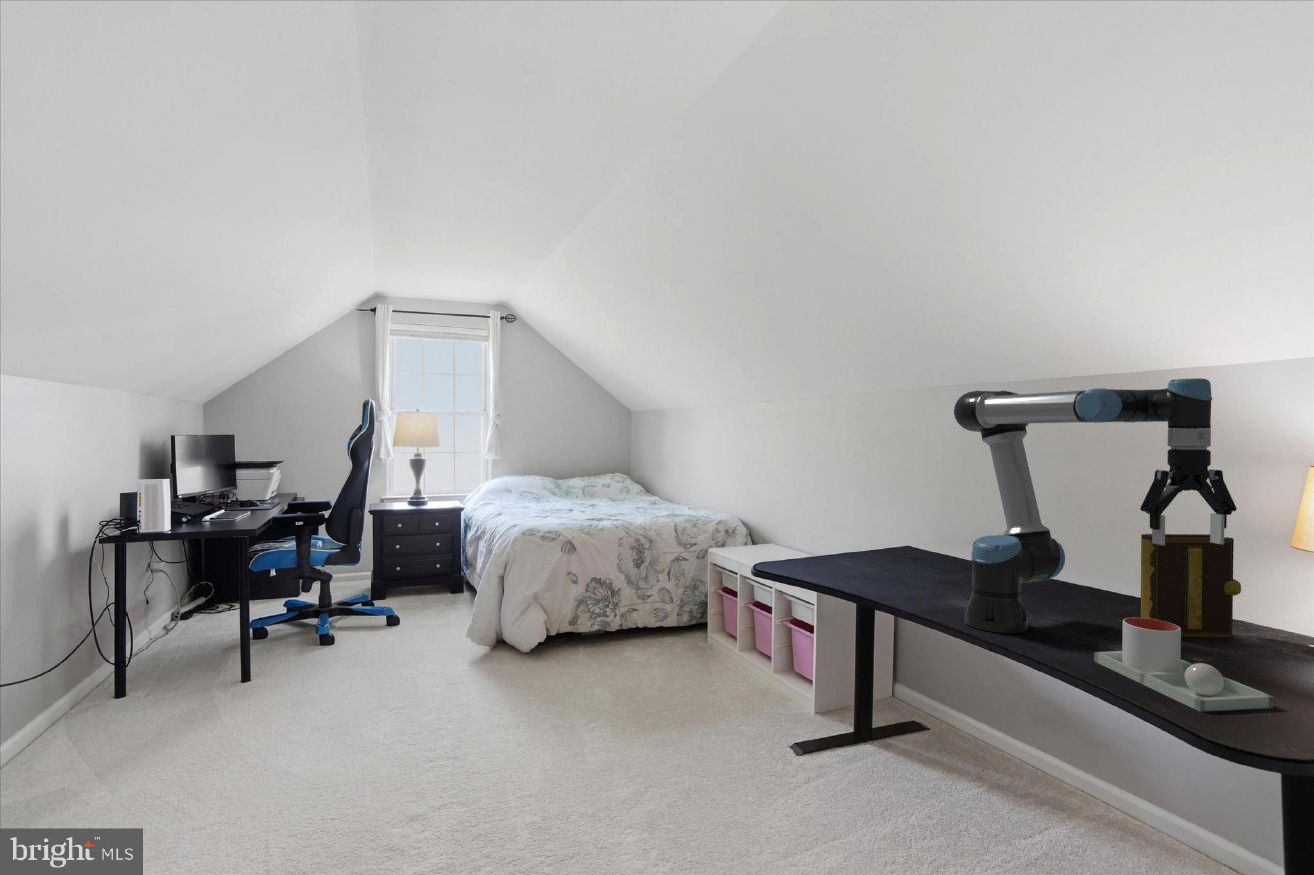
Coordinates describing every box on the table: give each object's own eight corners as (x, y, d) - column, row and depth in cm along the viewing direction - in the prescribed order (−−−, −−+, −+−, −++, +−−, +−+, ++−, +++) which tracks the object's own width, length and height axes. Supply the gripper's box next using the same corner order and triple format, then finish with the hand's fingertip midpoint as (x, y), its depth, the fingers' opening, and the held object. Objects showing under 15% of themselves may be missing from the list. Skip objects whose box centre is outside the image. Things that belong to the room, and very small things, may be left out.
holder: (1094, 666, 149) (1094, 652, 149) (1156, 663, 150) (1156, 649, 150) (1199, 717, 123) (1199, 700, 123) (1273, 713, 124) (1273, 696, 124)
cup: (1156, 661, 148) (1156, 617, 148) (1192, 679, 138) (1193, 631, 138) (1111, 662, 148) (1111, 617, 148) (1144, 679, 138) (1145, 631, 138)
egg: (1176, 689, 133) (1176, 659, 133) (1203, 687, 134) (1204, 657, 133) (1203, 701, 127) (1204, 670, 127) (1232, 700, 128) (1232, 669, 127)
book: (1156, 637, 168) (1157, 538, 167) (1134, 627, 177) (1135, 533, 176) (1248, 639, 167) (1249, 539, 166) (1221, 628, 175) (1222, 533, 175)
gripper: (1148, 449, 144) (1147, 547, 144) (1258, 448, 145) (1257, 545, 146) (1122, 448, 151) (1121, 541, 152) (1227, 447, 153) (1226, 539, 153)
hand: (1187, 543), depth 149 cm, fingers open, 13 cm apart
